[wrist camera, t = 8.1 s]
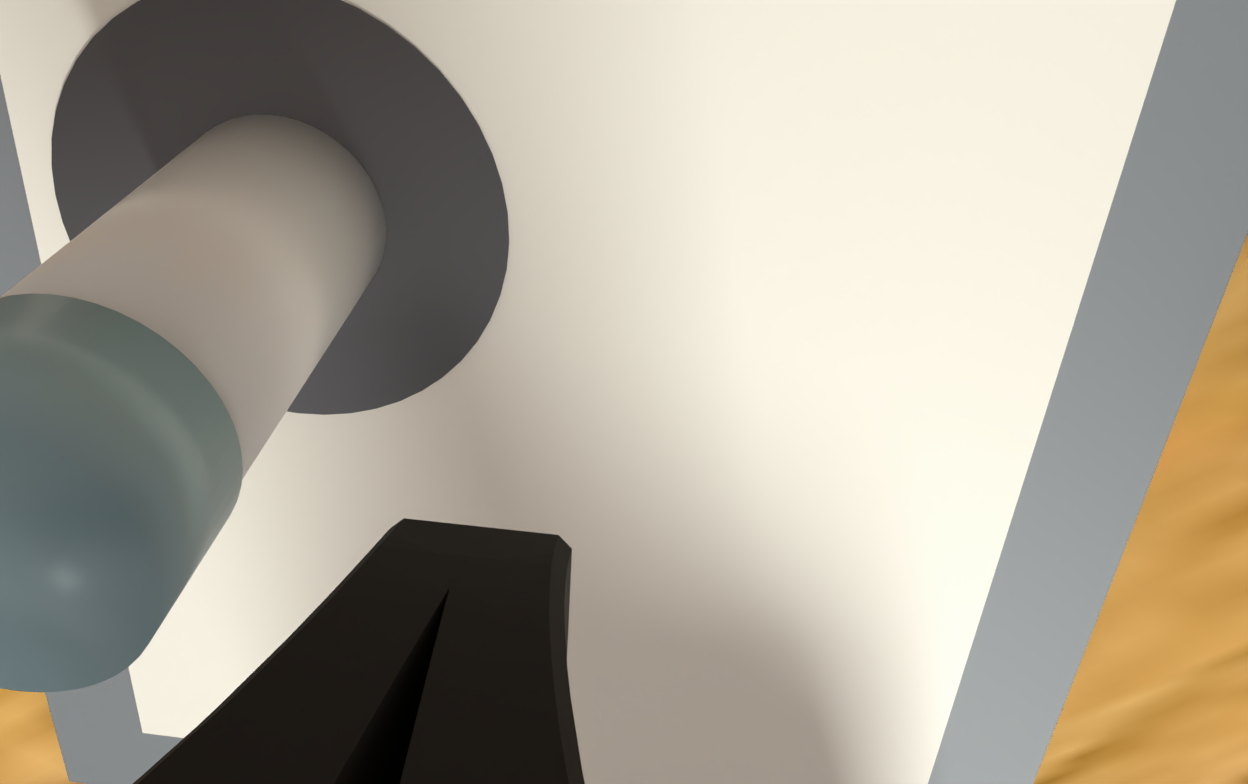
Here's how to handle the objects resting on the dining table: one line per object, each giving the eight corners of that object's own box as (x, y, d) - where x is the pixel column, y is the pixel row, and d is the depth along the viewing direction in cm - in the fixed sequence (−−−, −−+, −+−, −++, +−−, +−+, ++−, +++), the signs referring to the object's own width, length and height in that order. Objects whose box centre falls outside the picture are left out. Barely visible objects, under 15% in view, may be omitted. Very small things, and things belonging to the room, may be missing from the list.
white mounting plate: (981, 866, 25) (989, 905, 24) (87, 752, 26) (65, 786, 25) (1429, -327, 13) (1473, -330, 12) (-224, -462, 14) (-284, -472, 13)
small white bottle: (398, 326, 18) (185, 709, 11) (189, 308, 18) (-146, 672, 11) (386, 117, 16) (123, 419, 9) (154, 98, 16) (-268, 382, 10)
